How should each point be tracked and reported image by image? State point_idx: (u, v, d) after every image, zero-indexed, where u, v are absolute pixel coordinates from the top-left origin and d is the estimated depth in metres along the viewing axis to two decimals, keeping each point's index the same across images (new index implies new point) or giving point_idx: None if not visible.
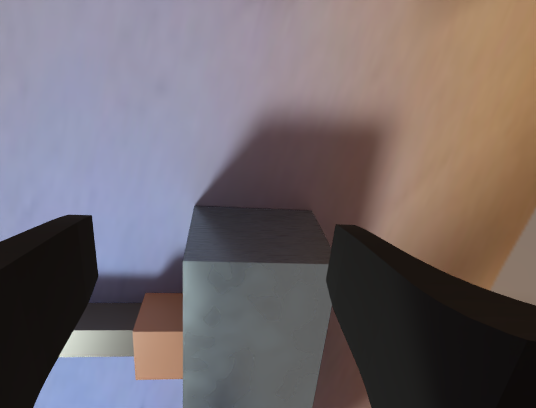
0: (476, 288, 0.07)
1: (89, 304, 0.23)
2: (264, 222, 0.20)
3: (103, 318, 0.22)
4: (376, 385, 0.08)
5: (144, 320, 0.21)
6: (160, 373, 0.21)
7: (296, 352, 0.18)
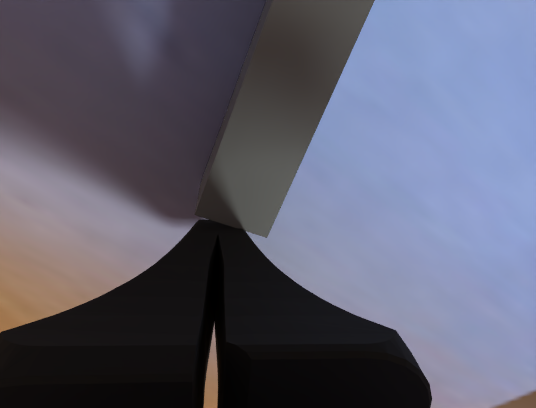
0: (292, 285, 0.06)
1: None
2: None
3: None
4: (218, 389, 0.08)
5: None
6: None
7: None
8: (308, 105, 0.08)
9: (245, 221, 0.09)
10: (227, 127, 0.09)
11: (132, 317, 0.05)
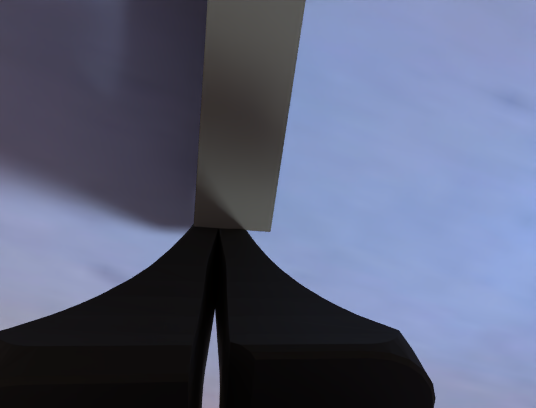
0: (294, 286, 0.06)
1: None
2: None
3: None
4: (220, 389, 0.08)
5: None
6: None
7: None
8: (273, 91, 0.08)
9: (244, 221, 0.09)
10: (200, 134, 0.08)
11: (129, 316, 0.05)
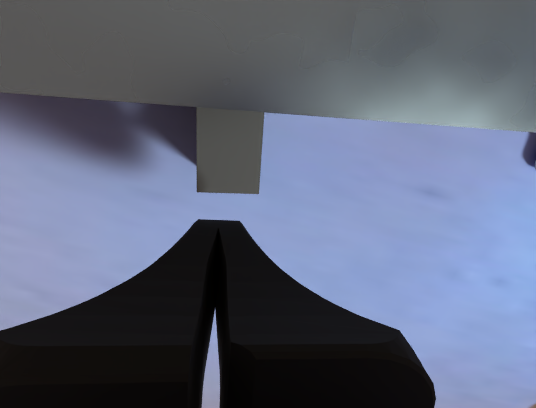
0: (294, 285, 0.06)
1: None
2: None
3: None
4: (220, 388, 0.08)
5: None
6: None
7: None
8: None
9: (237, 185, 0.12)
10: (197, 116, 0.11)
11: (128, 317, 0.05)
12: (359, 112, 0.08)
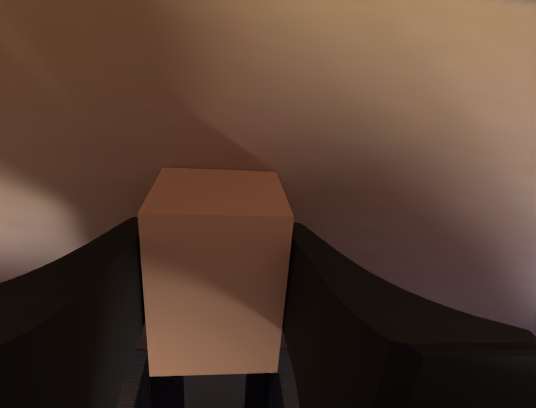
0: (391, 287, 0.07)
1: None
2: None
3: None
4: (302, 387, 0.08)
5: None
6: (264, 334, 0.10)
7: None
8: None
9: None
10: None
11: None
12: None
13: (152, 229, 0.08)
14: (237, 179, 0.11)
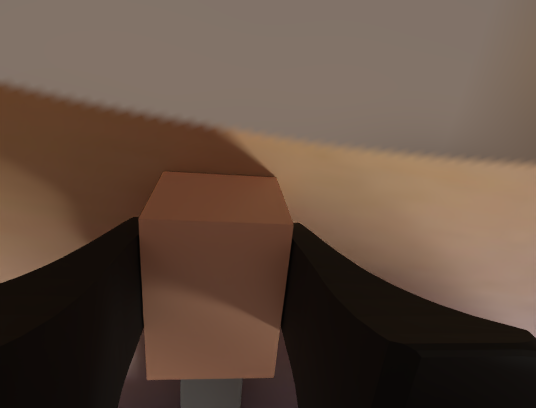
0: (390, 287, 0.07)
1: None
2: None
3: None
4: (301, 387, 0.08)
5: None
6: (262, 340, 0.10)
7: None
8: None
9: None
10: None
11: None
12: None
13: (152, 234, 0.08)
14: (237, 185, 0.11)
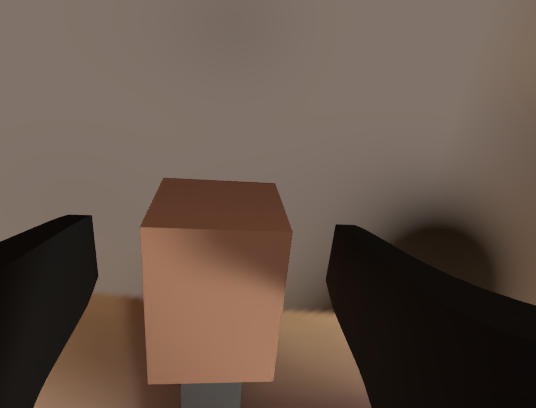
0: (476, 288, 0.07)
1: None
2: None
3: None
4: (376, 385, 0.08)
5: None
6: (261, 344, 0.10)
7: None
8: None
9: None
10: None
11: None
12: None
13: (154, 242, 0.09)
14: (237, 191, 0.11)
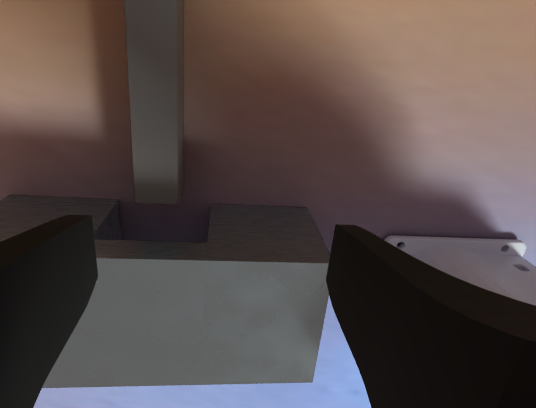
0: (476, 288, 0.07)
1: None
2: None
3: None
4: (376, 385, 0.08)
5: None
6: None
7: None
8: (168, 131, 0.16)
9: (162, 199, 0.17)
10: (133, 154, 0.17)
11: None
12: (210, 382, 0.18)
13: None
14: None
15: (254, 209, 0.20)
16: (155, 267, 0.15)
